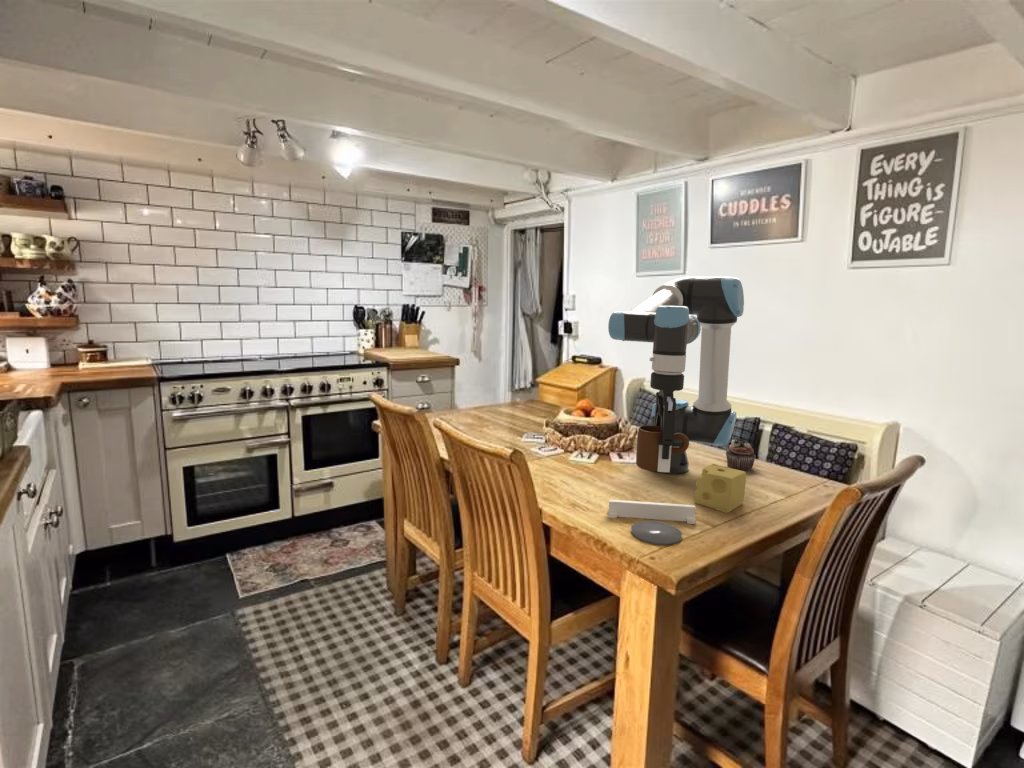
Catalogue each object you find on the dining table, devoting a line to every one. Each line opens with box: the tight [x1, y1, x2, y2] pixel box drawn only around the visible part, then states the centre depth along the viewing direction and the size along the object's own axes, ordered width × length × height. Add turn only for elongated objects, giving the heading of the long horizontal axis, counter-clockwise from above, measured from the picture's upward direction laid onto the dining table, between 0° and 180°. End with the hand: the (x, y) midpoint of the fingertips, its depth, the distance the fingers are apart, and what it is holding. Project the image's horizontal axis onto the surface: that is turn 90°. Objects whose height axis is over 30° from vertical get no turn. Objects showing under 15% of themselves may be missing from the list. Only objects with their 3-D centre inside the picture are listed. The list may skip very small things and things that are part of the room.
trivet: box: [630, 520, 683, 546], centre depth 134 cm, size 12×12×1 cm
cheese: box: [693, 463, 747, 514], centre depth 154 cm, size 10×11×10 cm
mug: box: [635, 425, 690, 472], centre depth 130 cm, size 12×8×9 cm, turn 65°
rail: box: [607, 499, 696, 525], centre depth 143 cm, size 4×22×4 cm, turn 83°
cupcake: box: [725, 437, 757, 472], centre depth 189 cm, size 10×10×10 cm
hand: (660, 466), depth 131 cm, fingers closed on mug, 7 cm apart
